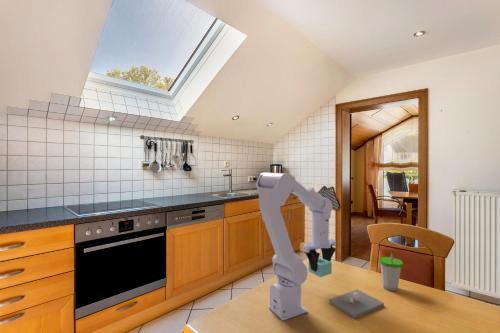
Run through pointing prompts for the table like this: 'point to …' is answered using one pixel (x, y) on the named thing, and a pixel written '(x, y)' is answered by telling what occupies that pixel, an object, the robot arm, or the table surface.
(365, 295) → the post board
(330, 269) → the teal slotted block
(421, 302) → the table surface
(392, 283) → the cup
